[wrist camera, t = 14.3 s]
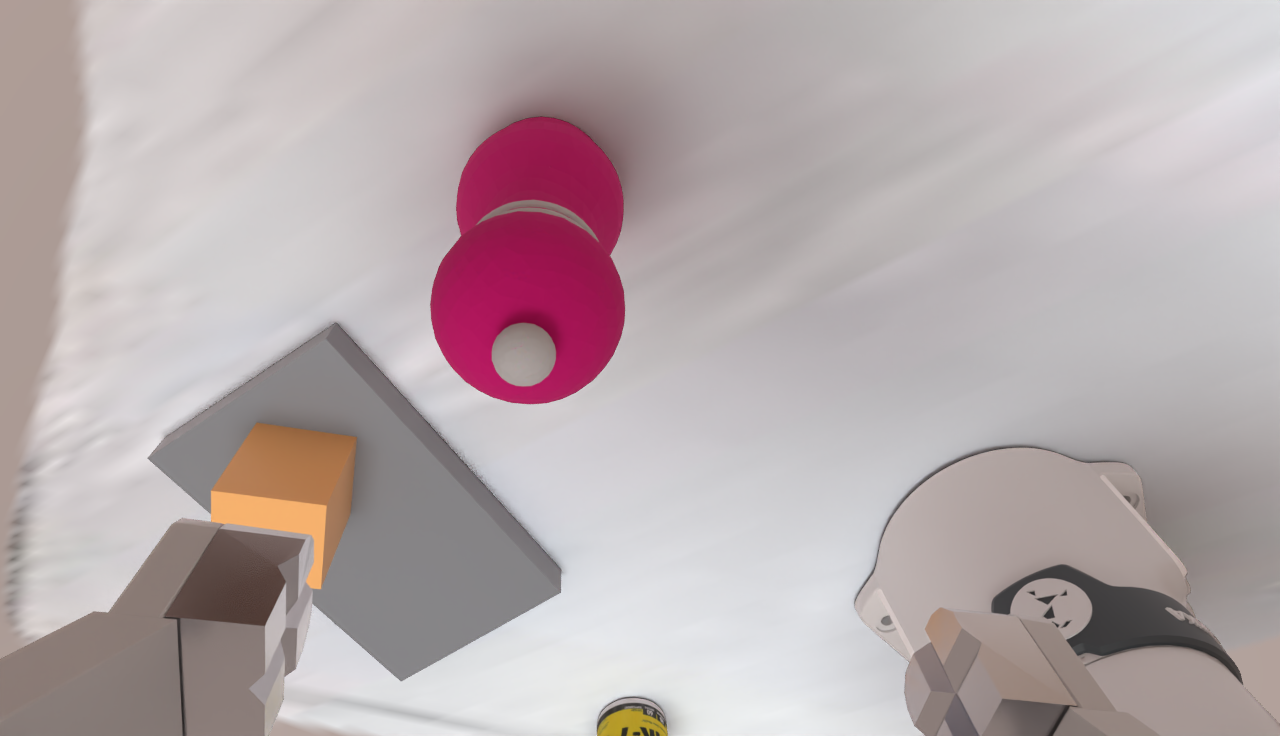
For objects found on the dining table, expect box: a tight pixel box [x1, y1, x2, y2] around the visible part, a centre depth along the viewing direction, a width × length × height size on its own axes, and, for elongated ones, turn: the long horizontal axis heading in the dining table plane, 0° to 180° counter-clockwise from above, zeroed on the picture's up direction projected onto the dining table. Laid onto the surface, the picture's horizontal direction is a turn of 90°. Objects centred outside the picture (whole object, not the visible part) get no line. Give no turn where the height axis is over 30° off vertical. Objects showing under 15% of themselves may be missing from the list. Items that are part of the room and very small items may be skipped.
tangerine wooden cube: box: [211, 423, 357, 589], centre depth 41 cm, size 5×5×6 cm
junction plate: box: [148, 323, 561, 681], centre depth 44 cm, size 20×12×7 cm, turn 33°
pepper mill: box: [430, 117, 625, 404], centre depth 31 cm, size 7×7×20 cm
